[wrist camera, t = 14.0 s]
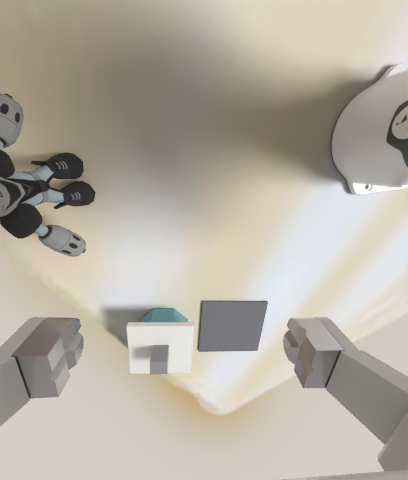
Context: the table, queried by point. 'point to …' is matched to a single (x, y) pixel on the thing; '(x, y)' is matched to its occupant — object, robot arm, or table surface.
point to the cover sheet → (160, 336)
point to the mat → (231, 325)
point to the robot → (37, 188)
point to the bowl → (163, 316)
